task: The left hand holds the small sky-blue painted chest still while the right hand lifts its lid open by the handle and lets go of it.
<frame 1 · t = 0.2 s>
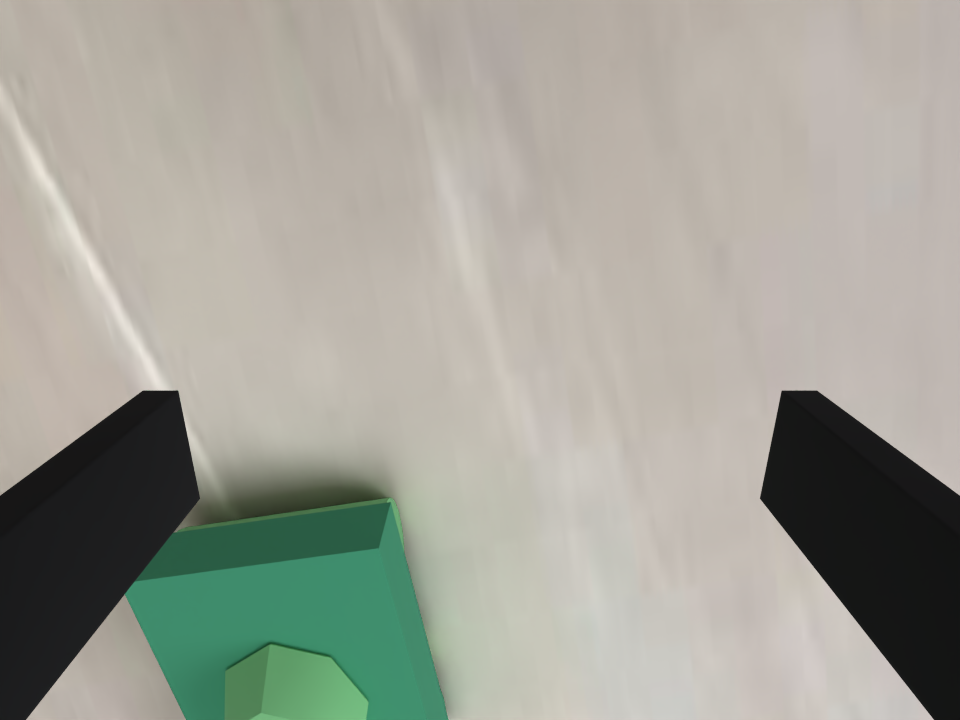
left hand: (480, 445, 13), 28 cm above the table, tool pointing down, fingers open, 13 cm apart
toy tank: (343, 654, 52), on the table
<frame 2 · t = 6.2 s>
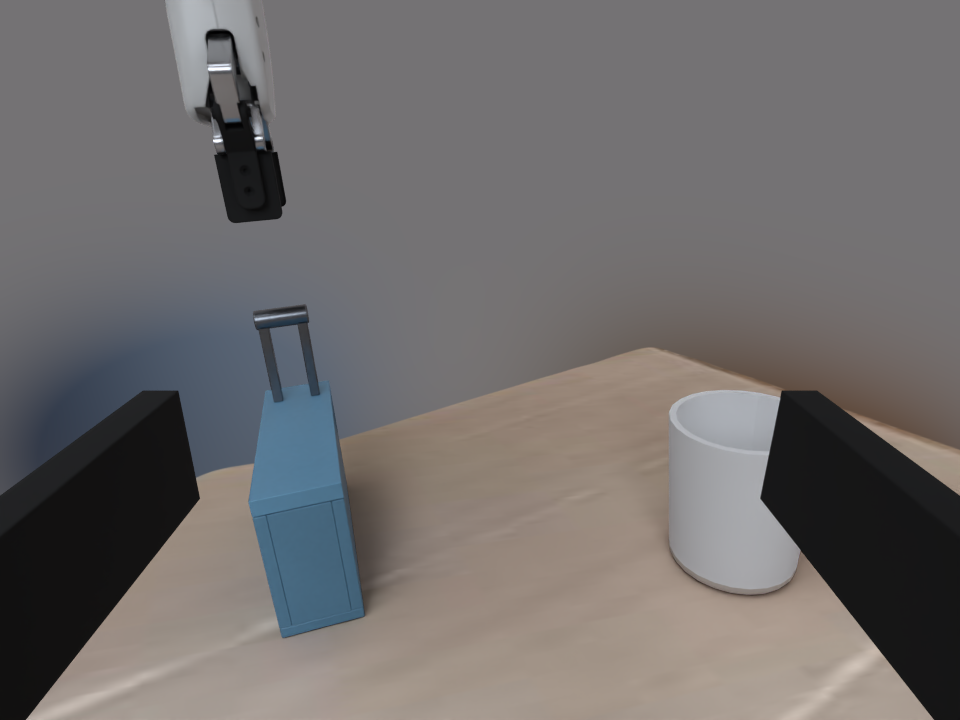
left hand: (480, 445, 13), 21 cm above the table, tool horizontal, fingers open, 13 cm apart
chest: (320, 547, 44), on the table
lid: (288, 387, 39), point 13 cm above the table, hinge at 0.0°
mug: (746, 558, 39), on the table
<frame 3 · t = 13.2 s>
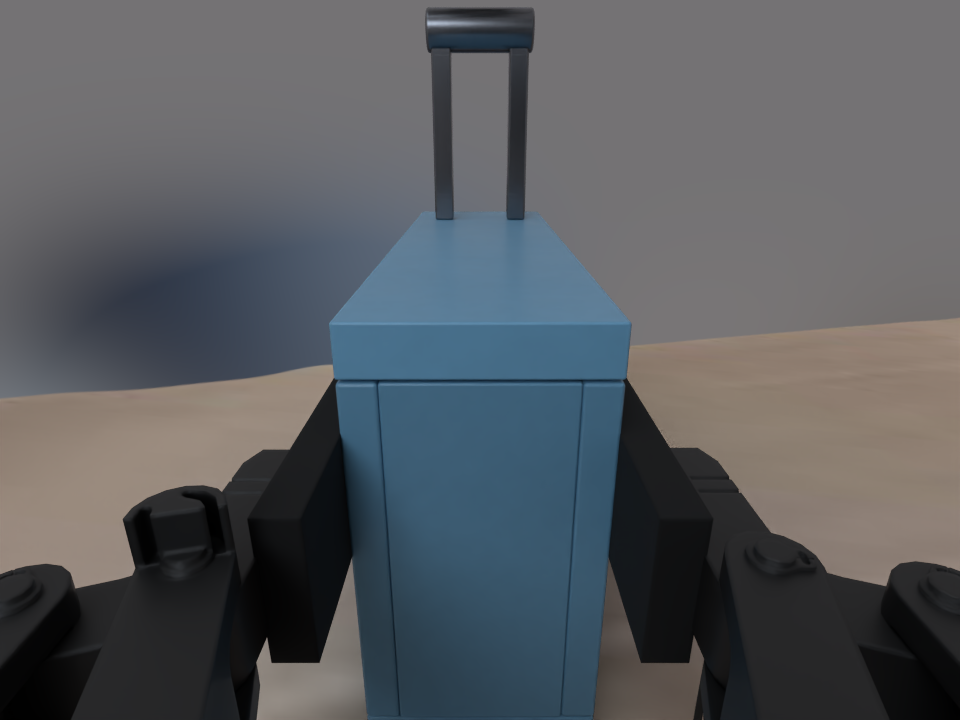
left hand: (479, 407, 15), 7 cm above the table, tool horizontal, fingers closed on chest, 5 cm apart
chest: (480, 520, 21), on the table, touching left hand
lid: (480, 131, 16), point 13 cm above the table, hinge at 0.0°
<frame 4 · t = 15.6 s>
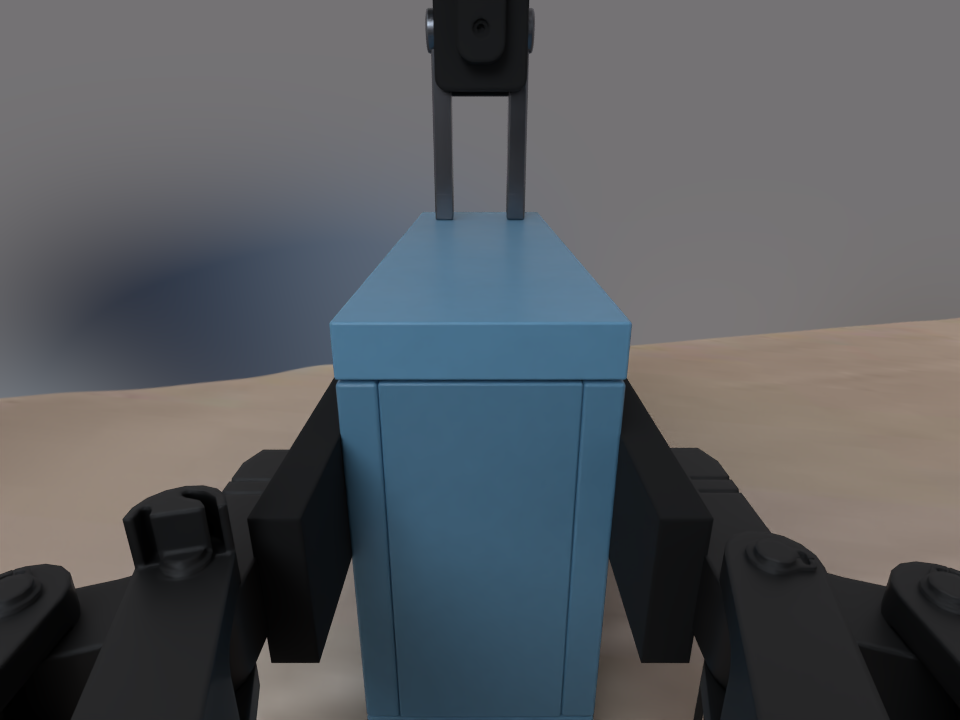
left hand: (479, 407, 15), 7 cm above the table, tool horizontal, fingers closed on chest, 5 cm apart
chest: (480, 520, 21), on the table, touching left hand
lid: (480, 132, 16), point 13 cm above the table, hinge at -0.1°, touching right hand
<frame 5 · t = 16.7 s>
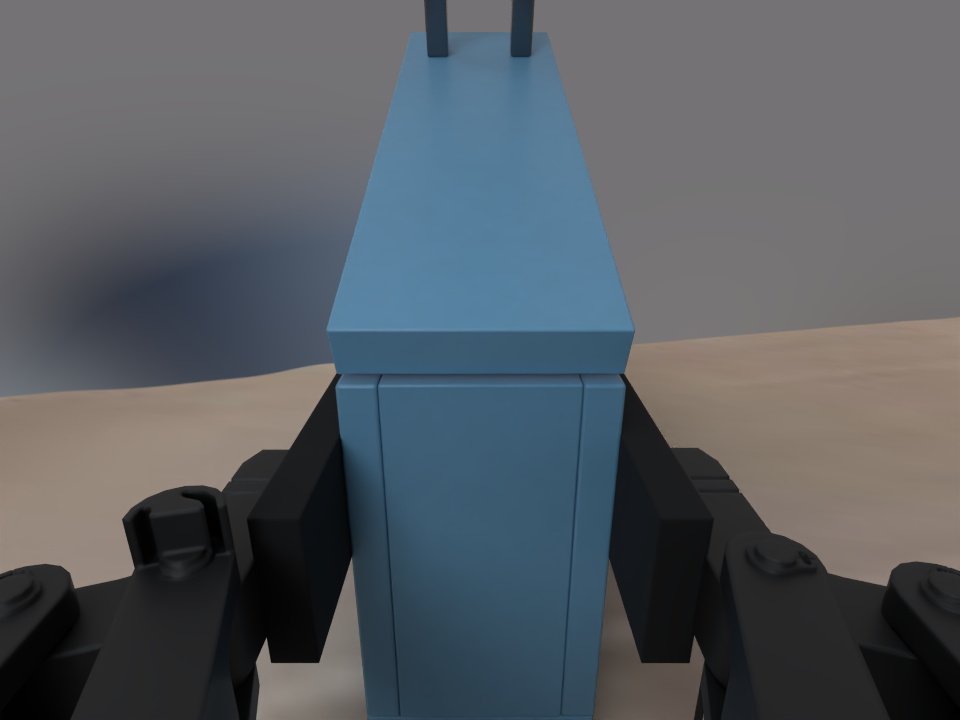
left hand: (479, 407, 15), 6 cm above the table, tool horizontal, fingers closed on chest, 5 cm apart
chest: (479, 519, 21), on the table, touching left hand
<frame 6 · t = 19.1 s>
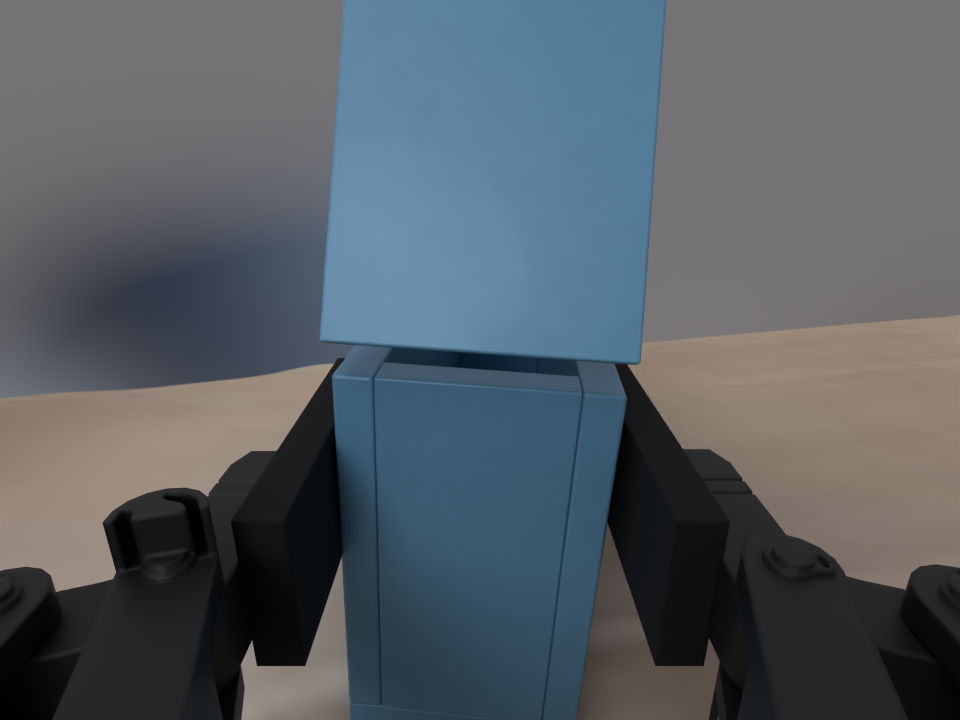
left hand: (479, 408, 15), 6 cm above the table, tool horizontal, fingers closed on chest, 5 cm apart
chest: (484, 514, 21), on the table, touching left hand
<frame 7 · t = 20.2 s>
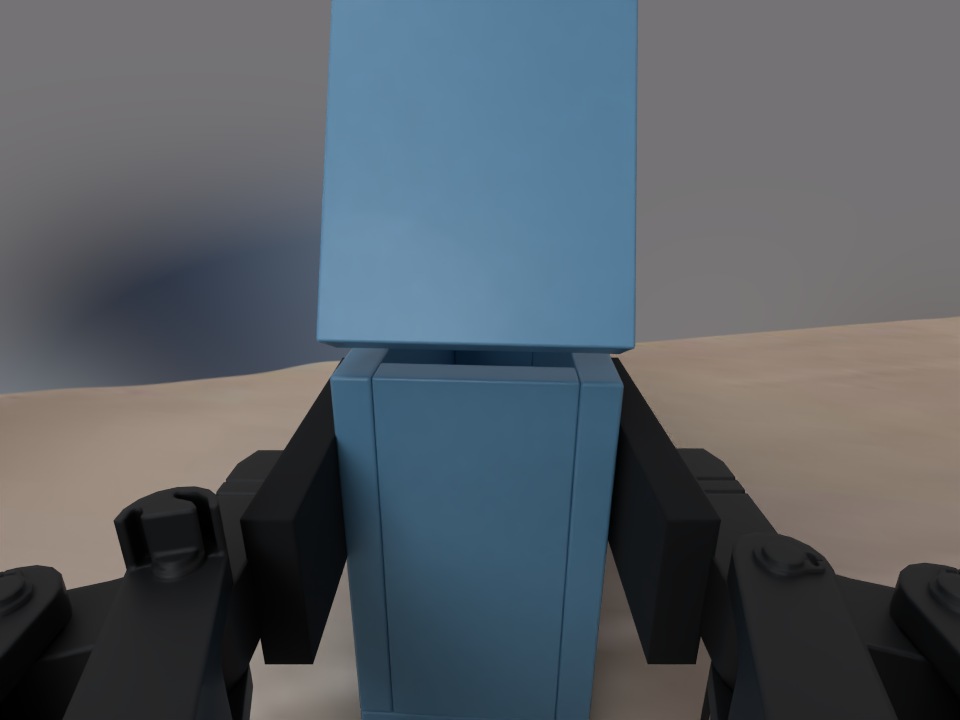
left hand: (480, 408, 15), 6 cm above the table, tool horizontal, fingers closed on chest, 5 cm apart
chest: (486, 519, 21), on the table, touching left hand
when the left hand's fingers open (6 cm above the table, at t = 22.6 s): chest stays where it is, on the table.
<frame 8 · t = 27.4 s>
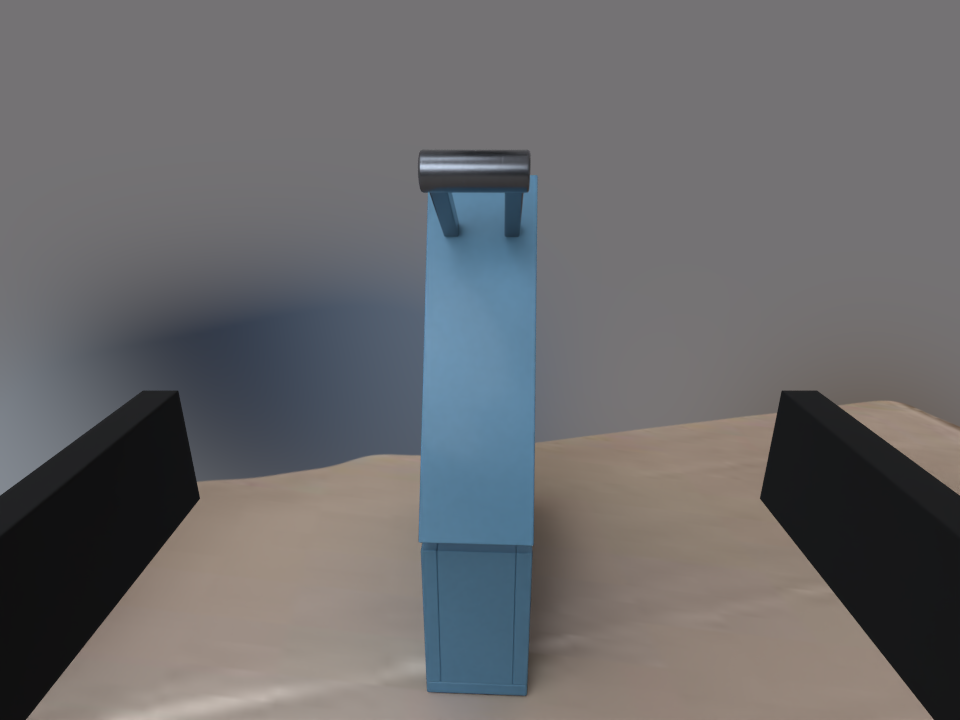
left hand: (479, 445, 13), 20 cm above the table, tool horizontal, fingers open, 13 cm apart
chest: (482, 580, 37), on the table
lid: (476, 347, 23), point 19 cm above the table, hinge at 64.6°
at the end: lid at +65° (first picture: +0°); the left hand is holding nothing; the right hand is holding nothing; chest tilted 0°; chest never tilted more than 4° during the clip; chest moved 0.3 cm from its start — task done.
